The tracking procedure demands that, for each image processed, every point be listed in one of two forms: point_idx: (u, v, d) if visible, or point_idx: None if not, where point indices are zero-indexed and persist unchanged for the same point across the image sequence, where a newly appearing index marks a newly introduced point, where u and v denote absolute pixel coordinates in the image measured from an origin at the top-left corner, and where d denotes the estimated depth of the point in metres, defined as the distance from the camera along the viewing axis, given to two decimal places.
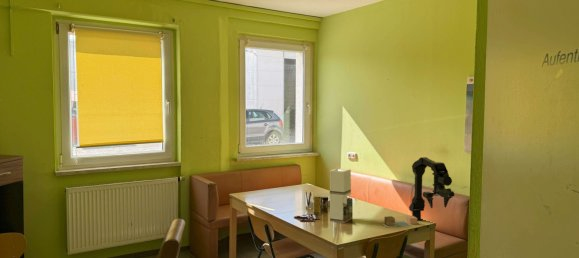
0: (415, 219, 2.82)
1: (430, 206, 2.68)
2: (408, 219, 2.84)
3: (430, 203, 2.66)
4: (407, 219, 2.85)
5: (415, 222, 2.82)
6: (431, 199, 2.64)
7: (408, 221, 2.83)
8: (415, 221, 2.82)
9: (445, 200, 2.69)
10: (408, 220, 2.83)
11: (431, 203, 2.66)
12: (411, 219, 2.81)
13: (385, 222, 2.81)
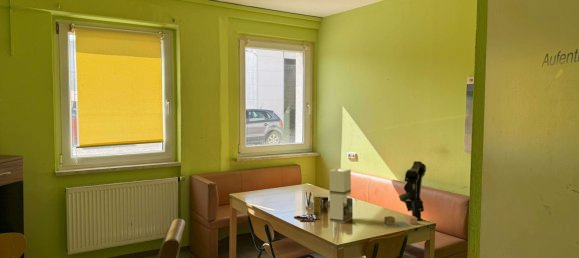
0: (415, 219, 2.82)
1: None
2: (408, 219, 2.84)
3: (407, 206, 2.89)
4: (407, 219, 2.85)
5: (415, 222, 2.82)
6: None
7: (408, 221, 2.83)
8: (415, 221, 2.82)
9: None
10: (408, 220, 2.83)
11: None
12: (411, 219, 2.81)
13: (385, 222, 2.81)
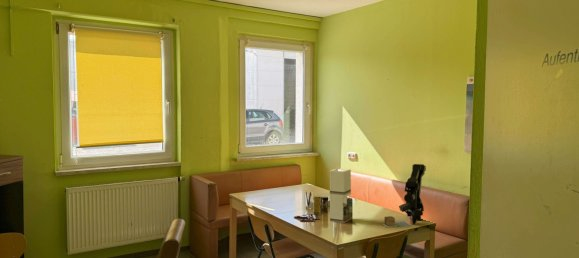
0: None
1: None
2: (408, 219, 2.84)
3: None
4: (407, 219, 2.85)
5: None
6: (405, 212, 2.87)
7: (408, 221, 2.83)
8: None
9: None
10: (408, 220, 2.83)
11: None
12: (411, 219, 2.81)
13: (385, 222, 2.81)
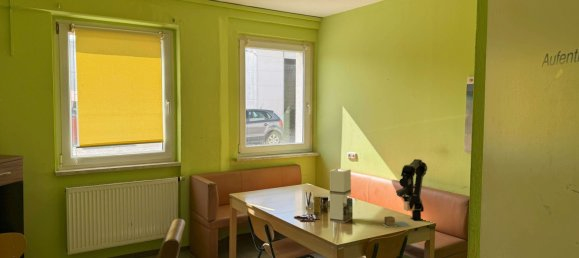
0: None
1: None
2: (405, 204, 2.82)
3: None
4: (404, 204, 2.83)
5: None
6: (402, 197, 2.86)
7: (405, 206, 2.82)
8: None
9: None
10: (405, 205, 2.82)
11: None
12: (408, 204, 2.80)
13: (385, 222, 2.81)
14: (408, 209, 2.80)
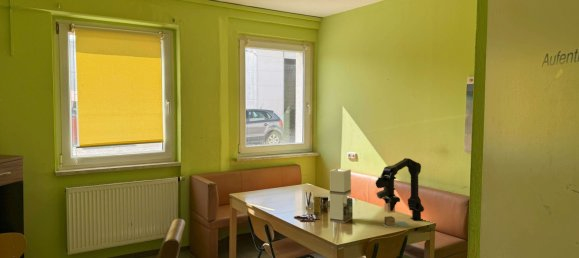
0: None
1: None
2: (385, 206, 2.80)
3: None
4: (385, 206, 2.81)
5: (393, 209, 2.78)
6: (383, 199, 2.83)
7: (386, 208, 2.79)
8: None
9: None
10: (386, 207, 2.79)
11: None
12: (389, 206, 2.77)
13: (385, 222, 2.81)
14: (388, 211, 2.77)
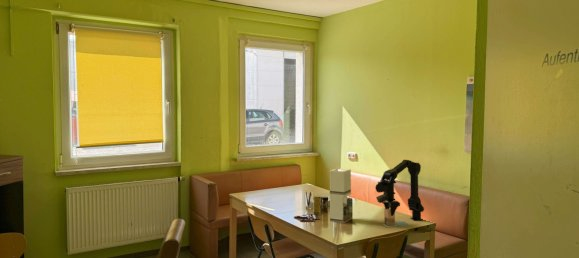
0: None
1: None
2: (385, 212, 2.80)
3: None
4: (385, 212, 2.81)
5: None
6: (383, 203, 2.84)
7: (386, 214, 2.79)
8: None
9: None
10: (386, 213, 2.79)
11: (385, 207, 2.84)
12: (388, 211, 2.77)
13: (385, 222, 2.81)
14: (388, 217, 2.77)
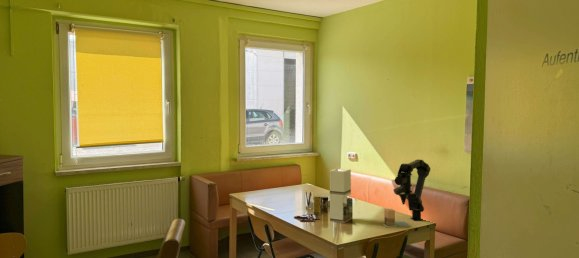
0: (393, 211, 2.78)
1: None
2: (385, 212, 2.80)
3: None
4: (385, 212, 2.81)
5: (393, 214, 2.78)
6: (399, 195, 2.91)
7: (386, 214, 2.79)
8: (393, 213, 2.78)
9: None
10: (386, 213, 2.79)
11: (401, 199, 2.91)
12: (388, 211, 2.77)
13: (385, 222, 2.81)
14: (388, 217, 2.77)
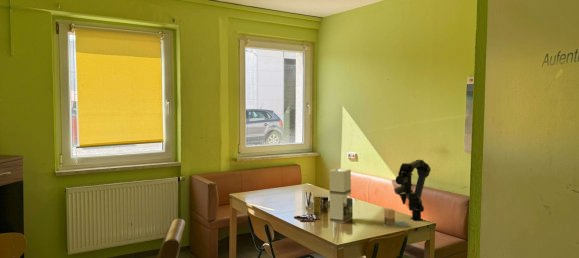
0: (393, 211, 2.78)
1: None
2: (385, 212, 2.80)
3: (402, 199, 2.91)
4: (385, 212, 2.81)
5: (393, 214, 2.78)
6: None
7: (386, 214, 2.79)
8: (393, 213, 2.78)
9: None
10: (386, 213, 2.79)
11: None
12: (388, 211, 2.77)
13: (385, 222, 2.81)
14: (388, 217, 2.77)
